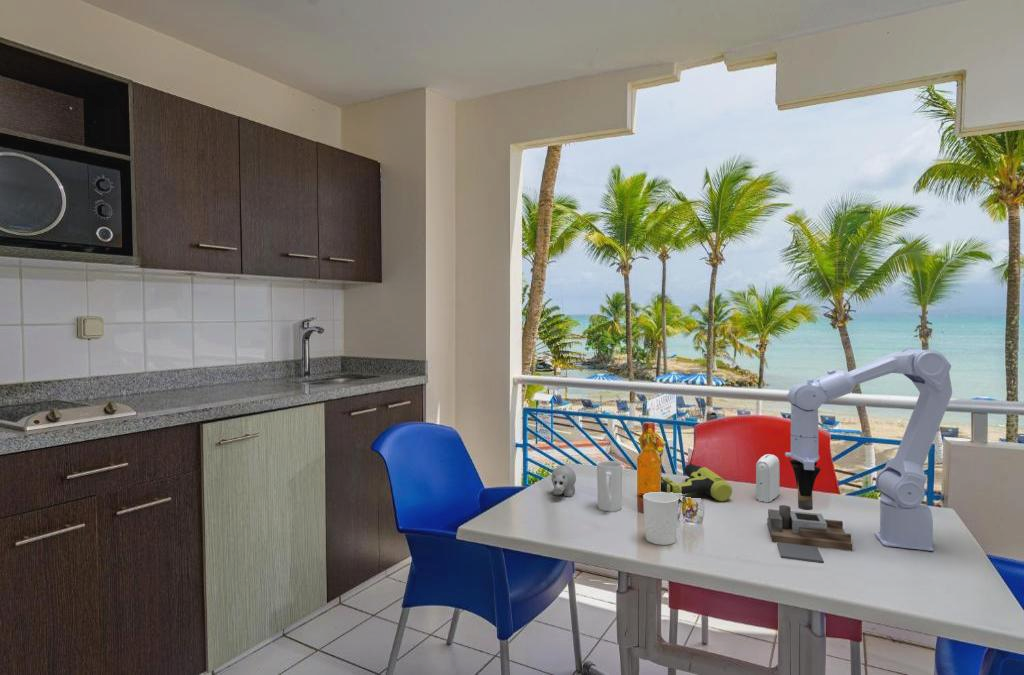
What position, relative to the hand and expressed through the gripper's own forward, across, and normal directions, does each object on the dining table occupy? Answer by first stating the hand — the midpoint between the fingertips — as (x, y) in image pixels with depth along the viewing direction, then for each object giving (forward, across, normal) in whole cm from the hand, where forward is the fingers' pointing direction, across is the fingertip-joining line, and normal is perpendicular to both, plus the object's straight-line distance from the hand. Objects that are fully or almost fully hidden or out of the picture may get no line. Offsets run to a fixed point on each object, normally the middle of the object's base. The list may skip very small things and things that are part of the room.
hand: (804, 493), depth 130 cm
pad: (+10, +11, -2) cm, 15 cm away
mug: (+10, -4, -46) cm, 48 cm away
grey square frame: (+8, 0, +1) cm, 8 cm away
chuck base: (+10, 0, +1) cm, 10 cm away
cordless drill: (+10, -27, -30) cm, 42 cm away
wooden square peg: (+3, 0, 0) cm, 3 cm away
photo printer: (+10, -29, -5) cm, 31 cm away
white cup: (+10, +13, -31) cm, 35 cm away
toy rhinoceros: (+10, -11, -61) cm, 63 cm away
